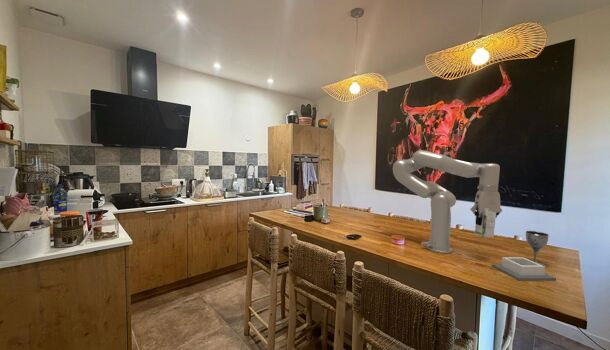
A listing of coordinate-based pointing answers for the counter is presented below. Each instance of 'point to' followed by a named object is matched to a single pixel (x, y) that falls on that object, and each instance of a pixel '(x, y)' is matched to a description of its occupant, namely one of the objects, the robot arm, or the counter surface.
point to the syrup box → (486, 224)
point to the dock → (522, 269)
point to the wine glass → (536, 242)
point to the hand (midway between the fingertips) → (484, 224)
